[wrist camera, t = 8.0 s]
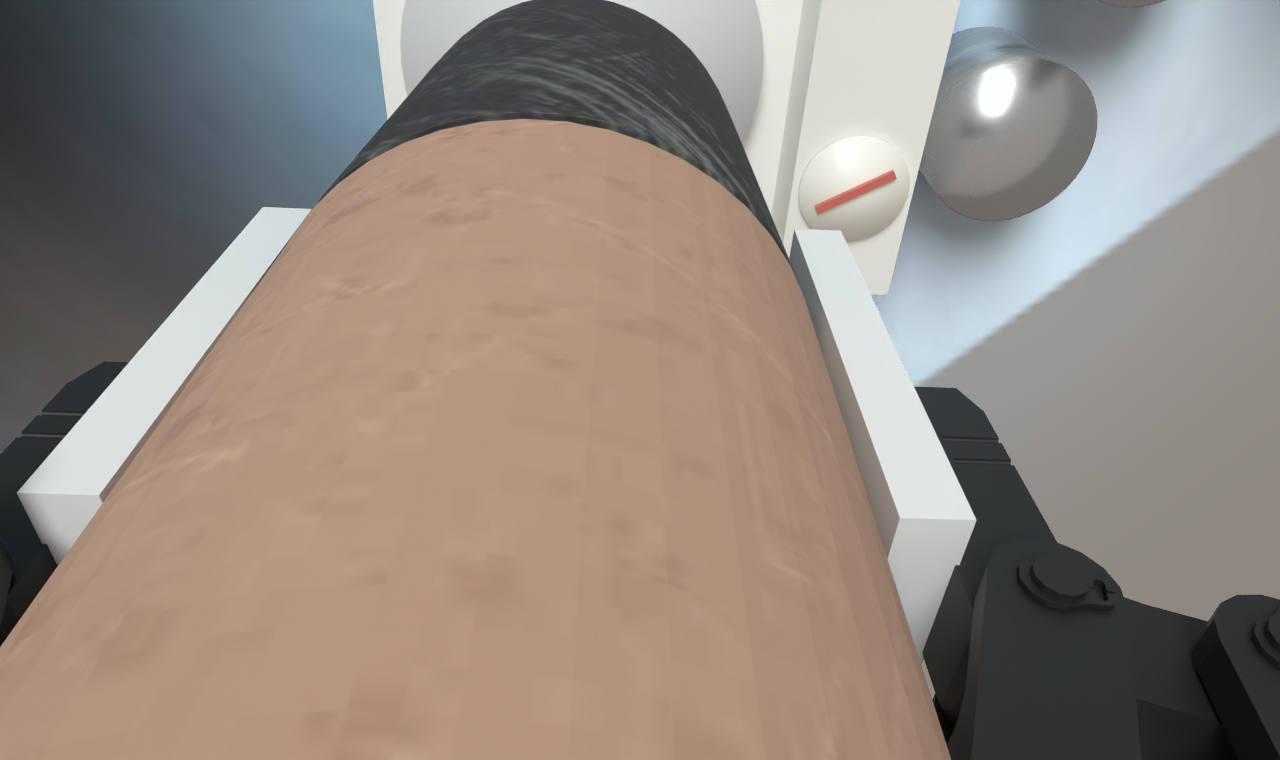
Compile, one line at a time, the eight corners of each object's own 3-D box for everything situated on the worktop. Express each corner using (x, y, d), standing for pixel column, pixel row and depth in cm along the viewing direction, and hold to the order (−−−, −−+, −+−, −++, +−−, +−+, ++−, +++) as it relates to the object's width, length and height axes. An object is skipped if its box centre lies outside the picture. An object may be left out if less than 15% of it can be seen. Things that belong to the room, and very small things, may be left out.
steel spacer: (880, 170, 30) (910, 217, 27) (913, 22, 28) (952, 55, 24) (1017, 176, 31) (1064, 223, 27) (1064, 30, 28) (1122, 64, 24)
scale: (423, 230, 31) (387, 310, 27) (373, -237, 23) (309, -240, 19) (851, 247, 32) (889, 327, 27) (946, -203, 24) (1024, -198, 19)
